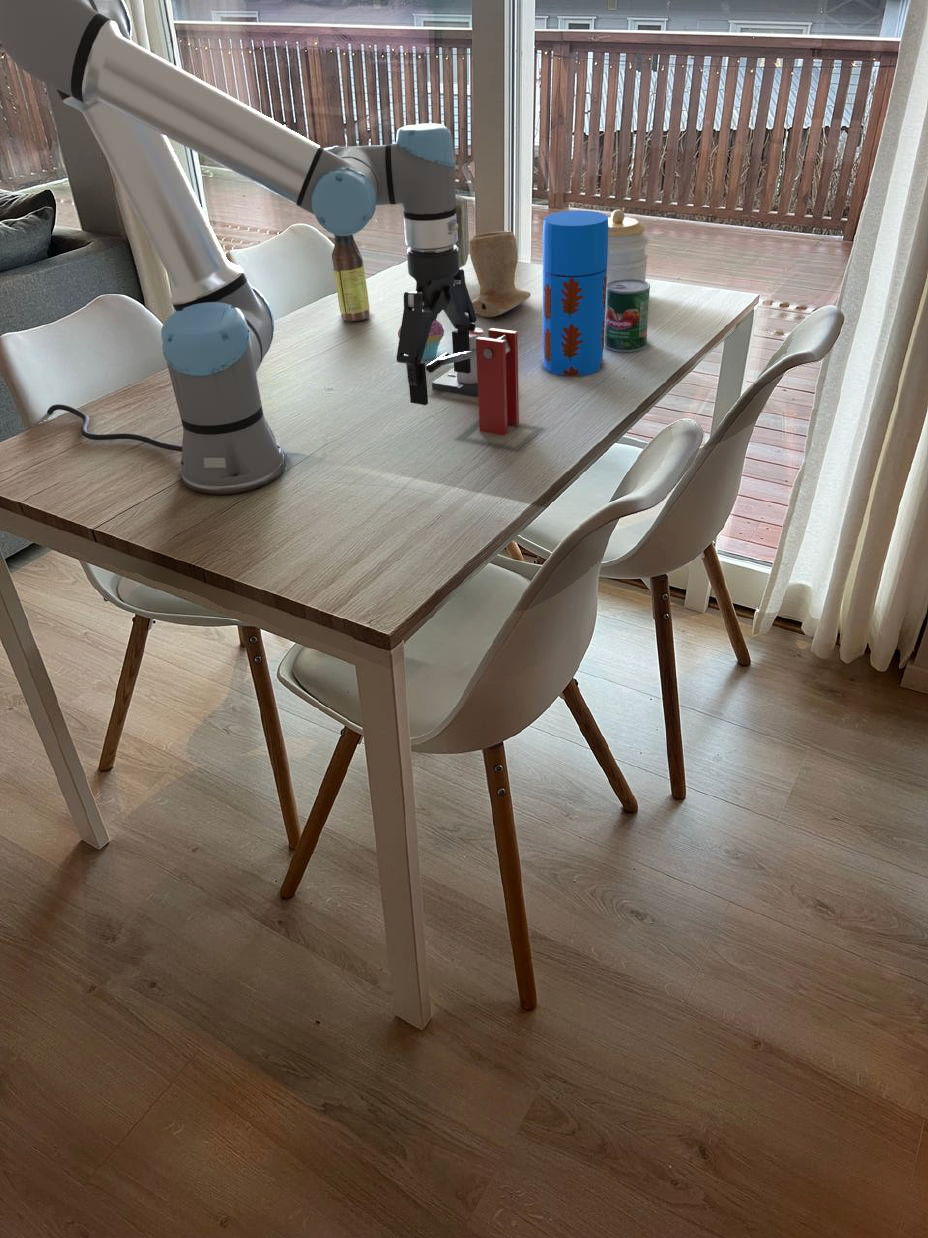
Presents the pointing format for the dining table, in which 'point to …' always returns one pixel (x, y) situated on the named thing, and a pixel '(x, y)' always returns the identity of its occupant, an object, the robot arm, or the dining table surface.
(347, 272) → the sauce bottle
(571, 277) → the thermos
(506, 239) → the tan piece
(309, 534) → the dining table surface
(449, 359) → the lever
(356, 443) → the dining table surface
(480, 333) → the knob
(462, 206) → the tabletop clock
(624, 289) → the canned tomato
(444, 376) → the dial panel
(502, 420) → the red lever stand
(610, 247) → the jar
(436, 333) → the cupcake
